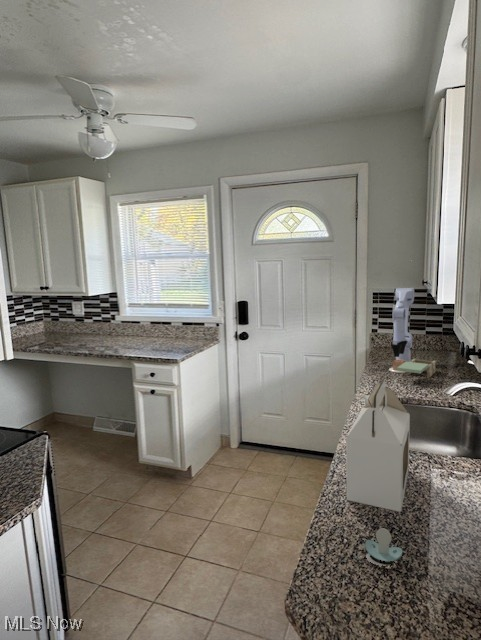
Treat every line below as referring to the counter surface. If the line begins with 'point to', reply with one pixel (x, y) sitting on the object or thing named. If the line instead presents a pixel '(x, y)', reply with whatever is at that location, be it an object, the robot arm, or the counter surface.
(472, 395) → the counter surface
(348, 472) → the gable box
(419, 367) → the lid
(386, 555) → the pacifier
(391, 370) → the plate
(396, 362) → the block
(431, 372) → the cubby
